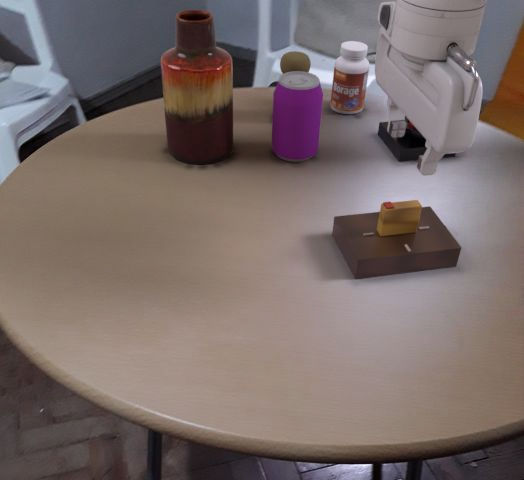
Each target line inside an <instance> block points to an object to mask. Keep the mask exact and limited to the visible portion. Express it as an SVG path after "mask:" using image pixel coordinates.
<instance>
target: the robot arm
mask: <svg viewBox="0 0 524 480" xmlns="http://www.w3.org/2000/svg"><path fill="white" fill-rule="evenodd" d="M487 3H488V0H394V1H384V2H381V3H380V4H379V6H378V13H377V22H378V24H379V25H380V28H379V29H378V30H379V31H378V33H377V34H378V36H377V41H376V50H375V60H374V76H375V77H374V78H375V81H376V82H375V83H376V84H377V86H379V88H380V89H381V90H382V91H383V92H384V93H385V94H386V96H387V99H386V105H387V107H386V108H387V117H388V121H389V122H388V121H387V122H388V128H387V132H388V133H389V134H390V135H391V136H392V137H393V138H396V137H403V136H404V134H405V129H406V125H407V123H406V122H405V116H406V117H407V118H408V119H409V121H410V122H411V123H412V124H413V125H414V126H415V127H416V129H417V130H418V131H419V132H420V133H421V134H422V135H423V137H424V138H425V139H426V144H425V146H426V148H427V150H426V152H425V154H424V155H420V156H419V158H418V160H417V164H416V169H417V171H418V172H419V173H420V174H421V176H423V177H424V176H433V175H435V174H436V173H437V169H438V165H439V162H440V161H441V159H443V158H442V157H443V156H444V154H448V153H456V154H459V153H465V152H466V151H468V150H469V149H470V148H471V147H472V145H473V144H474V141H475V137H476V133H477V128H478V123H479V119H480V112H481V107H482V101H483V90H484V89H483V88H484V87H483V82H482V79H481V76H480V75H479V73H478V71H477V66H478V63H477V61H476V60H475V58H474V57H472V56H471V55H472V54H474V52H475V50H476V46H477V42H478V38H479V34H480V30H481V26H482V22H483V19H484V14H485V10H486V7H487Z"/></svg>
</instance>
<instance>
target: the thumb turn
mask: <svg viewBox="0 0 524 480" xmlns="http://www.w3.org/2000/svg"><path fill="white" fill-rule="evenodd" d="M422 207H423V205H422V204H421V202H420V201H419V199H412V200H404V201H403V200H402V201H394V202H393V201H392V202H391V201H383V202H382V203H381V204H380V208H379V212H380V214H379V219H378V225H377V231H378V233H379V234H380V236H389V235H398V234H407V233H415V232H416V231H417V227H418V222H419V218H420V214H421V210H422Z"/></svg>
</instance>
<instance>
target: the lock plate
mask: <svg viewBox="0 0 524 480" xmlns="http://www.w3.org/2000/svg"><path fill="white" fill-rule="evenodd" d="M379 214H380V211H373V212H364V213H354V214H345V215H337V216H336V215H335V216H334V217H333V224H332V233H331V236H332V238H333V240H334V242H335V243H336V245H337V248H338V249H339V251H340V253H341V255H342V257H343V259H344V260H345V262H346V264H347V266H348V268H349V270H350V272H351V274H352V276H353V278H354V279H355V280H358V279H366V278H373V277H382V276H391V275H399V274H406V273H413V272H423V271H430V270H438V269H444V268H445V269H447V268H454V267H457V265H458V261H459V259H460V255H461V251H462V246H461V245H460V243H459V242H458V240H457V239H456V238H455V237H454V236H453V234H452V233H451V232H450V230H449V229H448V227H447V226H446V225H445V224H444V223H443V221H442V220H441V219H440V217H439V215H438V214H437V213H436V212H435V210H433V208H432V207H431V206H422V210H421V214H420V218H419V222H418V227H417V231H416V232H415V233H407V234H398V235H389V236H380V234H379V233H378V231H377V225H378V219H379Z"/></svg>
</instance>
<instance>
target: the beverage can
mask: <svg viewBox="0 0 524 480" xmlns="http://www.w3.org/2000/svg"><path fill="white" fill-rule="evenodd" d="M322 88H323V87H322V85H321V81H320V78H319V77H318V76H317V75H316V74H313V73H311V72H309V73H308V72H301V71H292V72H287V73H284V74H283V73H282V74H281V75H279V78H278V81H277V83H276V86H275V88H274V91H273V97H272V124H271V125H272V126H271V149H272V152H273V153H274V154H275V155H276V156H277V157H278V158H279V159H282V160H284V161H287V162H293V163H299V162H305V161H308V160H310V159H311V158H312V157H314V156H315V155H316V154H317V153H318V150H319V144H320V133H321V124H322V123H321V122H322V111H323V101H324V92H323V89H322Z"/></svg>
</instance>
